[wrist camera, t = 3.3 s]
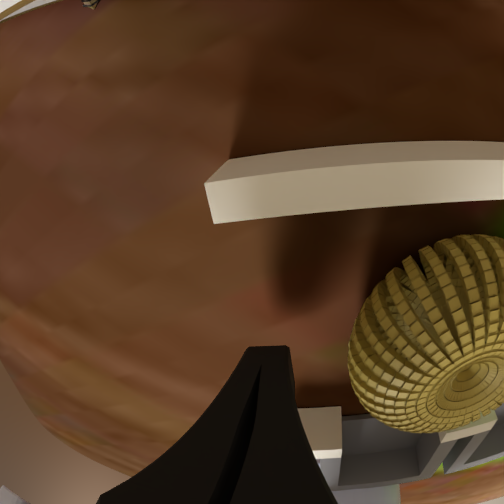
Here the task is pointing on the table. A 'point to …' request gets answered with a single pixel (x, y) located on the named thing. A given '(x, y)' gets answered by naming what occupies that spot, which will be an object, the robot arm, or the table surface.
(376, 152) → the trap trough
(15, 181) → the table surface
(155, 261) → the table surface
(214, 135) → the table surface
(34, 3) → the game die
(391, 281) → the sculpture
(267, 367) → the robot arm
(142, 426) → the table surface
